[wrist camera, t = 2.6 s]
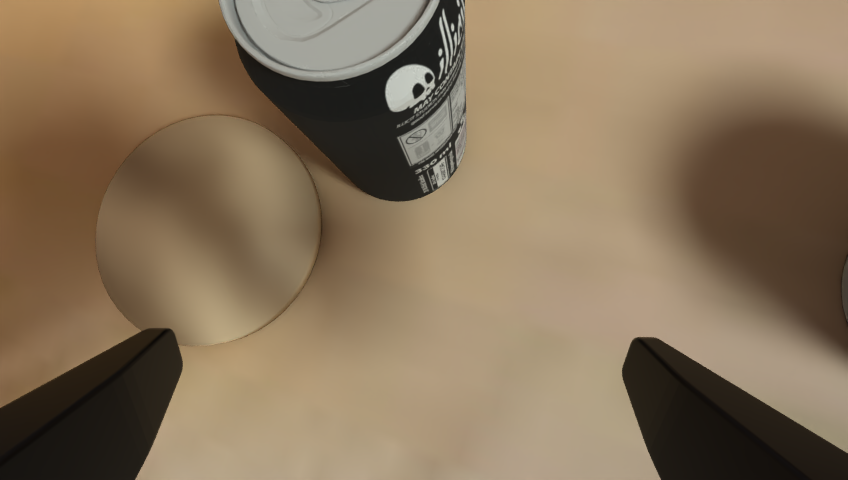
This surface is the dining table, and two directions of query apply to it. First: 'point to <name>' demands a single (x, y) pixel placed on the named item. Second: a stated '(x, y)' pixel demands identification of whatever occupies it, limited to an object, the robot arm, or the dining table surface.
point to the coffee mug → (845, 289)
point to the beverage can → (364, 83)
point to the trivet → (208, 230)
